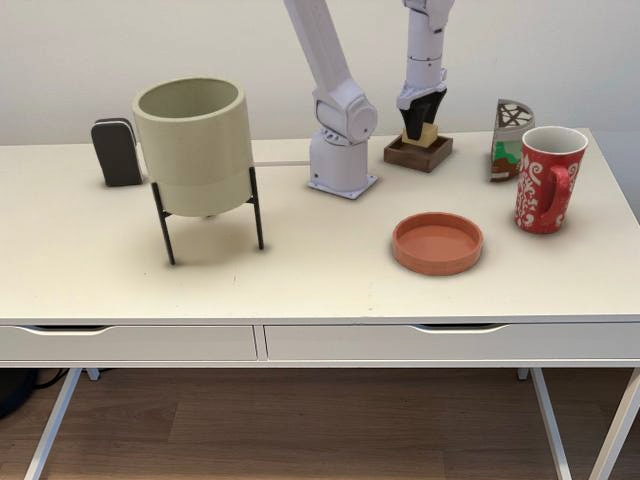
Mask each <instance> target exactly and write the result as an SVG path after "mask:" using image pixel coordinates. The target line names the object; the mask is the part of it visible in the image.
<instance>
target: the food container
mask: <svg viewBox="0 0 640 480" xmlns="http://www.w3.org/2000/svg"><path fill="white" fill-rule="evenodd" d="M535 116H536V115H535V113H534V110H533V108H531V107H530V106H528V105H527V104H525V103H523V102H521V101H517V100H512V99H506V98H498V100H497V106H496V112H495V120H494V126H493V134H492V135H493V136H492V140H491V146H490V147H491V148H490V157H489V182H490V183H500V182H501V183H502V182H506V181H509V180H512V179H514V178H516V177H517V176H519V172H520V162H521V154H522V145H523V144H522V136H523V134H524V133H525V132H527V131H529V130H531V129H534V128H536V117H535Z"/></svg>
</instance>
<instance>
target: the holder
mask: <svg viewBox="0 0 640 480" xmlns="http://www.w3.org/2000/svg"><path fill="white" fill-rule="evenodd" d="M453 145H454V138H453V137H449V136H444V135H439V134H437V139H436V140H435V141H434V142H433V143H432V144H431V145H430V146H428V147H427V148H426V147H422V146H418V145H413V144H409V143H405V142H402V133H400V134H399V135H398V136H397V137H396V138H395V139H393V140H392V141H391V142H390V143H388V145H386V146H384V148H383V159H382V160H383V162H385V163H389V164H393V165H397V166H401V167H405V168H409V169H412V170H417V171H420V172H423V173H427V174H430V173H431V172H432V171H433V170H434V169H435V168H436V167H437V166H438V165H439V164H440V163H441V162H442V161H444V160H445V159H446V158H447V157H448V156H449V155H450V154H451V153H453V147H454V146H453Z"/></svg>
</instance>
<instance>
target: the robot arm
mask: <svg viewBox="0 0 640 480" xmlns="http://www.w3.org/2000/svg"><path fill="white" fill-rule="evenodd" d="M455 1H456V0H401V3H402V5H403V7H404V8H408V27H407V30H408V31H407V48H406V49H407V50H406V69H405V70H406V71H405V72H406V73H405V80H404V83H403V85H402V88H401V91H400V93H399V94H398V95H397V96H396V109H398V110H399V112H400V114H401V117H402V119H403V123H404V127H405V128H406V133H407V137H408V139H411V140H415V141H418V140H419V139H420V137H421V133H422V128H423V123H429V124H433V125H434V123H435V120H436V117H437V113H438V110H439V109H440V108H439V107H440V106H441V103H442V101H443V99H444V97H445V96H446V94H447V93H448V88H447V83H445V80H447V74H448V68H447V67H444V66H442V64H443V63H442V62H443V52H444V39H445V27H446V26H447V24H448V22H449V16H450V12H451V10H452V8H453V6H454V4H455ZM282 2H283V4H284V6H285V9H286V11H287V13H288V17H289V19H290V22H291V24H292V26H293V29H294V31H295V34H296V37H297V39H298V42H299V44H300V47H301V49H302V52H303V54H304V56H305V59H306V62H307V64H308V66H309V70H310V72H311V74H312V77H313V80H314V82H315V85H314V87H313V89H312V90H311V95H312V98H313V102H314V103H313V104H314V107H313V108H314V109H313V111H314V117H315V120H316V121H317V122H318V124H321V128H319V129H317V130H316V131H315V132H314V134H313V135H312V137H311V140H310V143H309V150H308V153H309V154H308V155H309V174H310V175H309V176H310V181H309V182H308V186H307V187H310V188H312V189H316V190H320V191H323V192H326V193H329V194H333V195H336V196H339V197H343V198H347V199H350V200H356V199H357V198H358V197H359V196H361V195H362V194H363V193H364V192H365V191H367V189H369V187H371V186H372V185H373V184H374V183H375V182H376V181H377V180H378V177H377V176H375V175H371V174H368V161H369V160H368V156H369V153H368V151H369V148H368V147H369V140H370V139H371V136H372V135H373V134H374V132H375V130H376V128H377V124H378V119H379V114H378V110H377V107H376V106H375V105H374V104H373V103H371V102H370V101H369V99H368V97H367V93H366V92H365V91H364V90H363V88H362V87H361V86H360V85H359V83H358V82H357V81H356V80H355V79H354V77H353V76H352V74H351V70H350V68H349V65H348V62H347V60H346V56H345V53H344V50H343V48H342V44H341V42H340V39H339V36H338V33H337V30H336V27H335V24H334V21H333V18H332V16H331V13H330V10H329V6H328V3H327V0H282Z"/></svg>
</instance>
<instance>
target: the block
mask: <svg viewBox="0 0 640 480" xmlns="http://www.w3.org/2000/svg"><path fill="white" fill-rule="evenodd" d="M438 133H439V125H438V124H434V123H433V124H429V123H423V128H422V133H421V137H420V139H419V140H418V141H415V140H411V139H408V137H407V133H406V128H405V126H404V127H403V128H402V132H401V134H402V142H405V143H409V144H413V145H418V146H422V147H426V148H427V147H428V146H430V145H431V144H432V143H433V142H434V141H435V140H436V139H437V135H439V134H438Z"/></svg>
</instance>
